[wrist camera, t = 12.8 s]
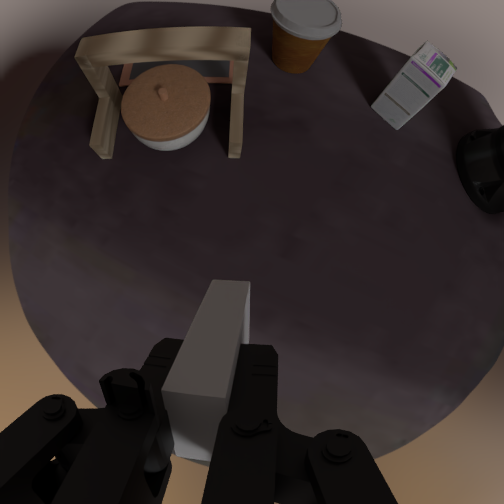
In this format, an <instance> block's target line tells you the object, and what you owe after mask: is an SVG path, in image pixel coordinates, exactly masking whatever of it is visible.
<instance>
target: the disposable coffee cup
mask: <svg viewBox="0 0 504 504" xmlns="http://www.w3.org/2000/svg"><path fill="white" fill-rule="evenodd" d="M271 13H272V17H273V42H272V44H273V45H272V60H273V62H274V63H275V65H276V66H277V67H278V68H280V69H281V70H283V71H285V72H289V73H303V72H305V71H307V70H308V69H309V68H310V66H311V65H312V63H313V62H314V61H315V59H316V58H317V56H318V55H319V54H320V52H321V51H322V49H323V48H324V47H325V45H326V44H327V42H328V41H329V40H330V38H331V37H332V36H333V35H335V34H336V33H337V32H338V31H339V30H340V29H341V26H342V20H341V13H340V10H339V8H338V7H337V6H336V5H335V3H334V2H333V1H331V0H274V2H273V3H272V6H271Z"/></svg>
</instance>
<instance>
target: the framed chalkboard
mask: <svg viewBox="0 0 504 504" xmlns="http://www.w3.org/2000/svg"><path fill="white" fill-rule="evenodd" d="M167 64H178V65H184V66H187V67H190V68H192V69H194V70H196V71H197V72H199V73H200V74H201V75H202V76H203V77H204V78H205V80H206V81H207V83H223V84H232V80H233V66H234V61H230V60H173V61H153V62H139V63H128V64H124V67H123V71H122V75H121V79H120V83H119V87H122V86H129V85H130V84H131V83H132V81H133V80H134V79H135V78H137V77H138V76H139V75H140V74H142V73H143V72H145V71H147V70H149V69H151V68H154V67H156V66H161V65H167Z"/></svg>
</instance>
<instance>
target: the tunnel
mask: <svg viewBox="0 0 504 504" xmlns="http://www.w3.org/2000/svg"><path fill="white" fill-rule="evenodd" d="M250 42H251V28H241V27H171V28H155V29H143V30H134V31H125V32H117V33H110V34H103V35H97V36H91V37H86V38H82V39H81V41H80V44H79V46H78V49H77V52H76V54H75V57H74V58H75V59H76V61H77V63H78V64H79V66H80V68H81V69H82V71H83V72H84V74H85V76H86V77H87V79H88V81H89V82H90V84H91V85H92V87H93V89H94V90H95V92H96V93H97V95H98V97H99V102H98V106H97V111H96V115H95V120H94V124H93V129H92V134H91V139H90V145H89V146H90V147H91V148H92V149H93V150H94V151H95V152H96V153H97V154H98V155H99V156H100V157H101V158H102V159H112V155H113V148H114V142H115V136H116V130H117V125H118V119H119V114H120V109H121V102H122V98H123V96H122V94H121V92H120V90H119V88H118V86H117V84H116V82H115V80H114V78H113V76H112V74H111V72H110V70H109V68H108V66H109V65H118V64H128V63H139V62H153V61H173V60H230V61H234V66H233V80H232V94H231V112H230V133H229V156H228V158H240V154H241V148H242V134H243V103H244V89H245V82H246V74H247V67H248V60H249V53H250Z"/></svg>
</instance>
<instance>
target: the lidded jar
mask: <svg viewBox="0 0 504 504" xmlns="http://www.w3.org/2000/svg"><path fill="white" fill-rule="evenodd" d="M210 101H211V96H210V88H209V85H208V83H207V81H206V80H205V78H204V77H203V76H202V75H201V74H200V73H199V72H197V71H196V70H194V69H192V68H190V67H187V66H184V65H178V64H167V65H161V66H156V67H154V68H151V69H149V70H147V71H145V72H143V73H142V74H140V75H139V76H138V77H137V78H135V79H134V80H133V81H132V83H131V84H130V85H129V86H128V88H127V89H126V91H125V93H124V95H123V98H122V102H121V114H122V117H123V120H124V122H125V124H126V125H127V127H128V128H129V129H130V131H131V132H132V133H133V134H134V135H135V137H136V138H137V139H138V140H140V141H141V142H142V143H143V144H145V145H147V146H148V147H151V148H153V149H157V150H164V151H169V150H176V149H180V148H182V147H185V146H187V145H188V144H190V143H191V142H193V141H194V140H195V139H196V138H197V137H198V136H199V135H200V134H201V132H202V131H203V129H204V127H205V125H206V123H207V120H208V116H209V111H210Z"/></svg>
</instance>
